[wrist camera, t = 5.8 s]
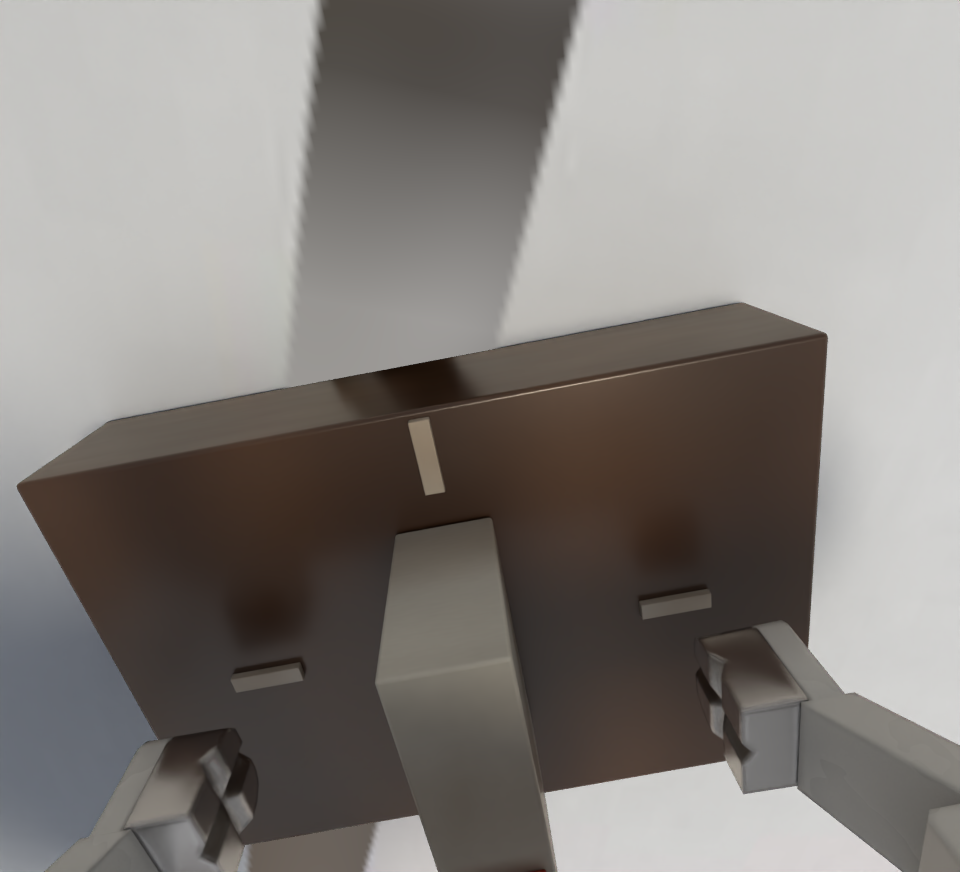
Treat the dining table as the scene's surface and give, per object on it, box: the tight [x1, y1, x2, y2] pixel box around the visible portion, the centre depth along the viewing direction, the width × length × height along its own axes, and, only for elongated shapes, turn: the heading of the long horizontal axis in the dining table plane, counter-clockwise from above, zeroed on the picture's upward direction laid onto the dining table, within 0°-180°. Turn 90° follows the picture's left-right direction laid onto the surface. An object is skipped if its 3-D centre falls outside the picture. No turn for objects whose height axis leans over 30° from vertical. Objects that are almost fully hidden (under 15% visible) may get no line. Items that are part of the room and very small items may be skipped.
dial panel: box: [17, 303, 828, 845], centre depth 13 cm, size 14×10×3 cm
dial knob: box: [375, 518, 557, 872], centre depth 10 cm, size 6×2×4 cm, turn 10°
